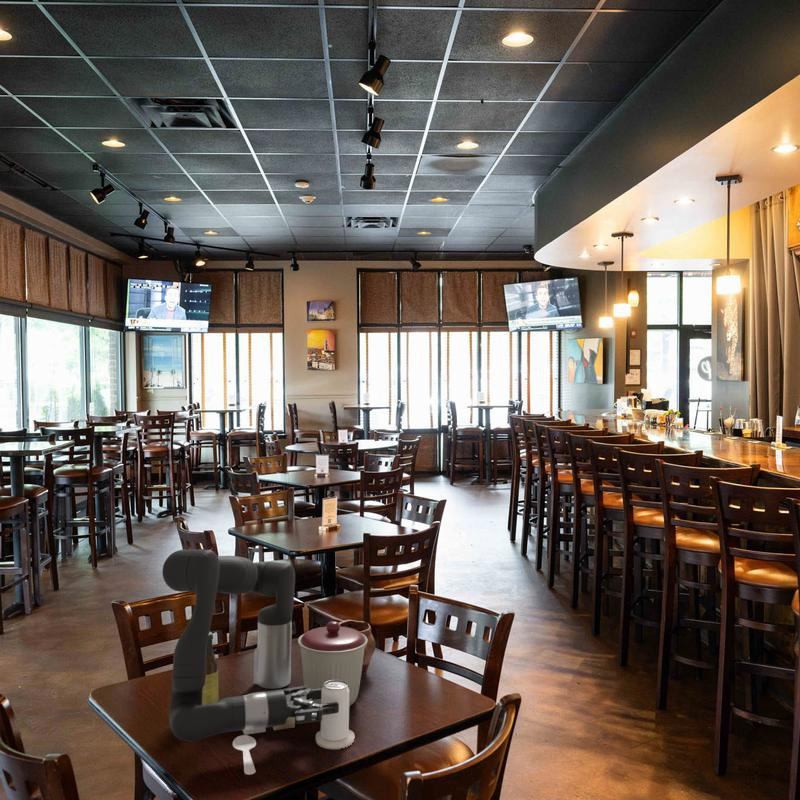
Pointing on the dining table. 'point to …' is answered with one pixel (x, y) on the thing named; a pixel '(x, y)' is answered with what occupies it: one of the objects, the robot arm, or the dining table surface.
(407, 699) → the dining table surface
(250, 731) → the white rectangular block
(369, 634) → the decorative planter
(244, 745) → the spoon
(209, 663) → the sauce bottle
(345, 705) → the can
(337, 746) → the cream saucer
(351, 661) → the canister
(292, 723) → the beech block
